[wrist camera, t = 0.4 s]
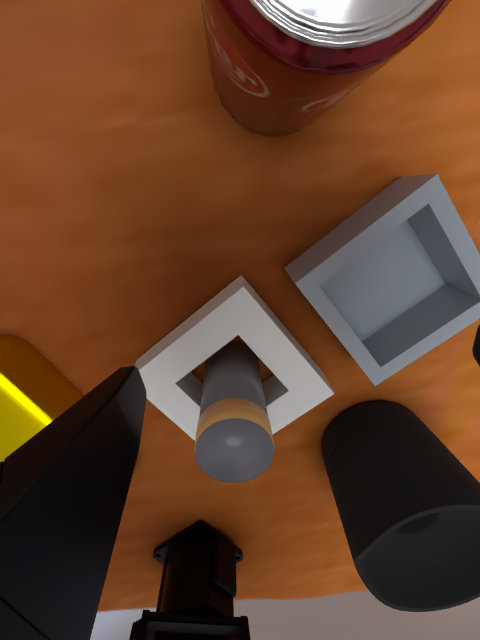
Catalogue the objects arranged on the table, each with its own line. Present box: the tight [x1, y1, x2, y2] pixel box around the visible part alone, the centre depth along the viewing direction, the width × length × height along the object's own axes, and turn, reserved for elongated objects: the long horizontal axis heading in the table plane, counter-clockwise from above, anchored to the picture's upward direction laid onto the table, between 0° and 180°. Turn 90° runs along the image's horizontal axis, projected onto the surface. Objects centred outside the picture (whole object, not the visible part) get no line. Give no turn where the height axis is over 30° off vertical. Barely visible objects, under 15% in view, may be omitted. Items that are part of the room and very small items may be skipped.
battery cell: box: [194, 341, 274, 483], centre depth 21 cm, size 4×4×9 cm
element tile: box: [0, 335, 84, 462], centre depth 25 cm, size 15×15×5 cm
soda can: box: [201, 0, 451, 136], centre depth 12 cm, size 7×7×12 cm
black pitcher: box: [322, 402, 480, 612], centre depth 23 cm, size 9×9×10 cm
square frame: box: [134, 275, 334, 441], centre depth 23 cm, size 10×10×3 cm
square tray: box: [284, 174, 480, 386], centre depth 21 cm, size 9×9×4 cm
